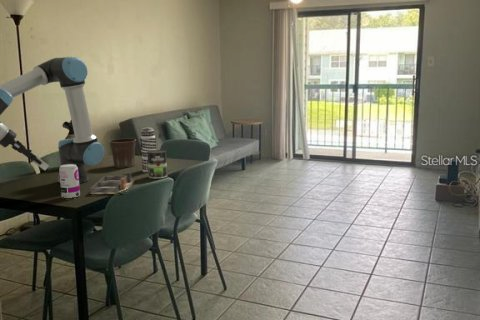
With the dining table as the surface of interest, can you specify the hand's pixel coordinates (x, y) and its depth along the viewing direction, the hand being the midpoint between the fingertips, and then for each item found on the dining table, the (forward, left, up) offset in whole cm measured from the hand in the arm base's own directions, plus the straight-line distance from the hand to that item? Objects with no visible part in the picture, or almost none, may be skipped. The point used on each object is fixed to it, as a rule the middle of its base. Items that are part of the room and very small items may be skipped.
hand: (44, 165), depth 212 cm
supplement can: (+9, +5, -16) cm, 19 cm away
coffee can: (+44, +44, -16) cm, 64 cm away
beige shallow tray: (+25, +21, -16) cm, 37 cm away
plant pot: (+19, +77, -16) cm, 81 cm away
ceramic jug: (-12, +80, -16) cm, 83 cm away
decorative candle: (+37, +61, -16) cm, 73 cm away
